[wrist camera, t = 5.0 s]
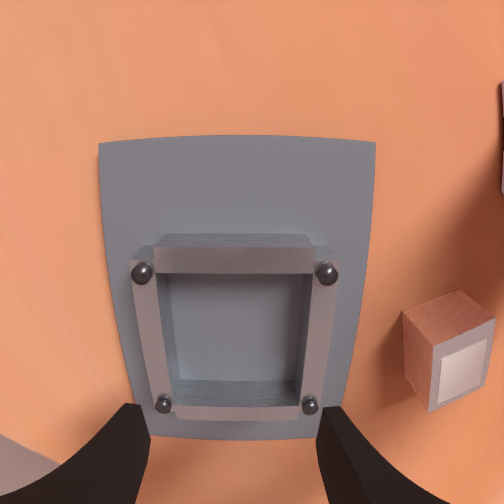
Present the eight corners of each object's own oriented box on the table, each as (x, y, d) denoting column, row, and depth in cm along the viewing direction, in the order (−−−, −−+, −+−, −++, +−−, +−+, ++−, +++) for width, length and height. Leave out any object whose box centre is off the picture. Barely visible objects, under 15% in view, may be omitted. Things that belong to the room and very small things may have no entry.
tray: (369, 142, 16) (400, 141, 12) (331, 428, 22) (340, 463, 18) (104, 143, 15) (72, 143, 12) (147, 426, 21) (137, 461, 18)
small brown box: (458, 288, 18) (496, 317, 14) (455, 352, 20) (484, 386, 16) (401, 309, 19) (433, 347, 14) (403, 373, 20) (428, 414, 16)
